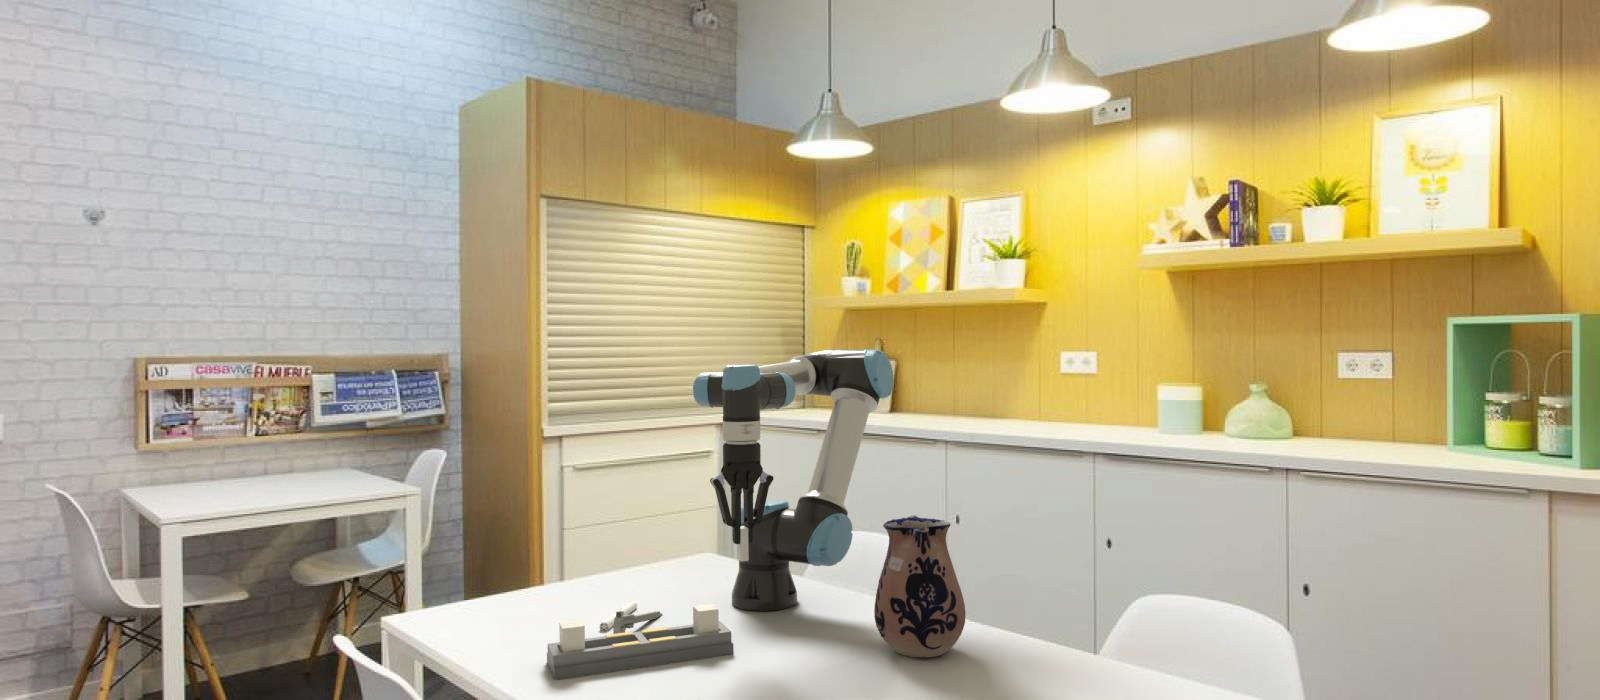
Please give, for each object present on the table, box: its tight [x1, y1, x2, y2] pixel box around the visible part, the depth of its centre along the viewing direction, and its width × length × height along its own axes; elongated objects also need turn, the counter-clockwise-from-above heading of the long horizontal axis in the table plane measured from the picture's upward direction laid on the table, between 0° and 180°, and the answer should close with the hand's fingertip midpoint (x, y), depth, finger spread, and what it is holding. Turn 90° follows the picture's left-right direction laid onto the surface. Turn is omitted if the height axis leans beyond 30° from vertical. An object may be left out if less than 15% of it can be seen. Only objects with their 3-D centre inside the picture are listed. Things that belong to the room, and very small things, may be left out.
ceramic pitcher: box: [874, 514, 966, 658], centre depth 187 cm, size 18×21×25 cm
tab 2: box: [692, 603, 720, 634], centre depth 188 cm, size 4×4×6 cm
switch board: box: [546, 620, 735, 681], centre depth 183 cm, size 34×10×4 cm, turn 113°
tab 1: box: [558, 619, 586, 652], centre depth 178 cm, size 4×4×6 cm
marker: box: [599, 600, 638, 631], centre depth 210 cm, size 18×2×2 cm, turn 168°
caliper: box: [612, 610, 663, 634], centre depth 203 cm, size 20×1×6 cm, turn 162°
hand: (742, 559), depth 191 cm, fingers closed
